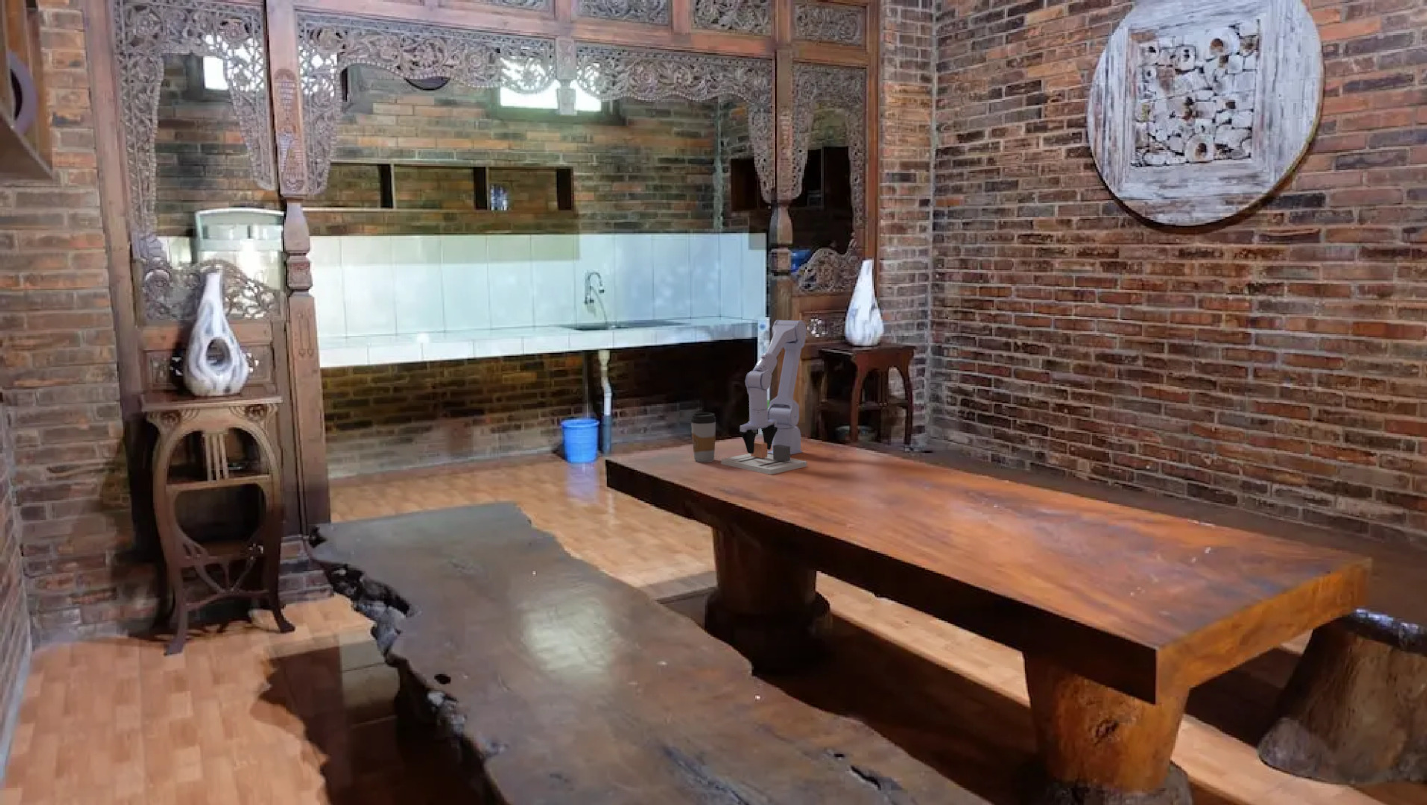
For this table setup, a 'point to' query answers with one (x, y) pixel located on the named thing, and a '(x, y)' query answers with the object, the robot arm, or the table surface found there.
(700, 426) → the coffee cup
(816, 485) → the table surface
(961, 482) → the table surface
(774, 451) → the fader
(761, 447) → the block
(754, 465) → the mixer plate
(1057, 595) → the table surface
